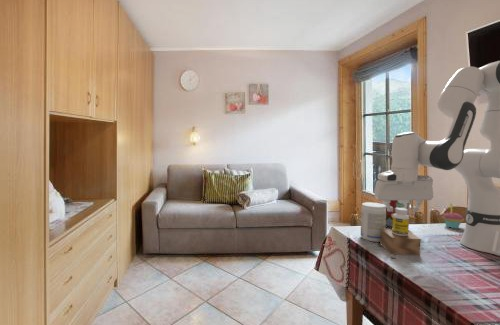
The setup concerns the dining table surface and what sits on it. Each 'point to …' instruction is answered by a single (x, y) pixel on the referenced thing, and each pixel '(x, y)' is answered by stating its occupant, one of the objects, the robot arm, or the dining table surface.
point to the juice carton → (395, 205)
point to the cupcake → (453, 219)
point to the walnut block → (400, 243)
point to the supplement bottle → (400, 222)
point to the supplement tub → (372, 221)
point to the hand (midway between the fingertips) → (402, 211)
